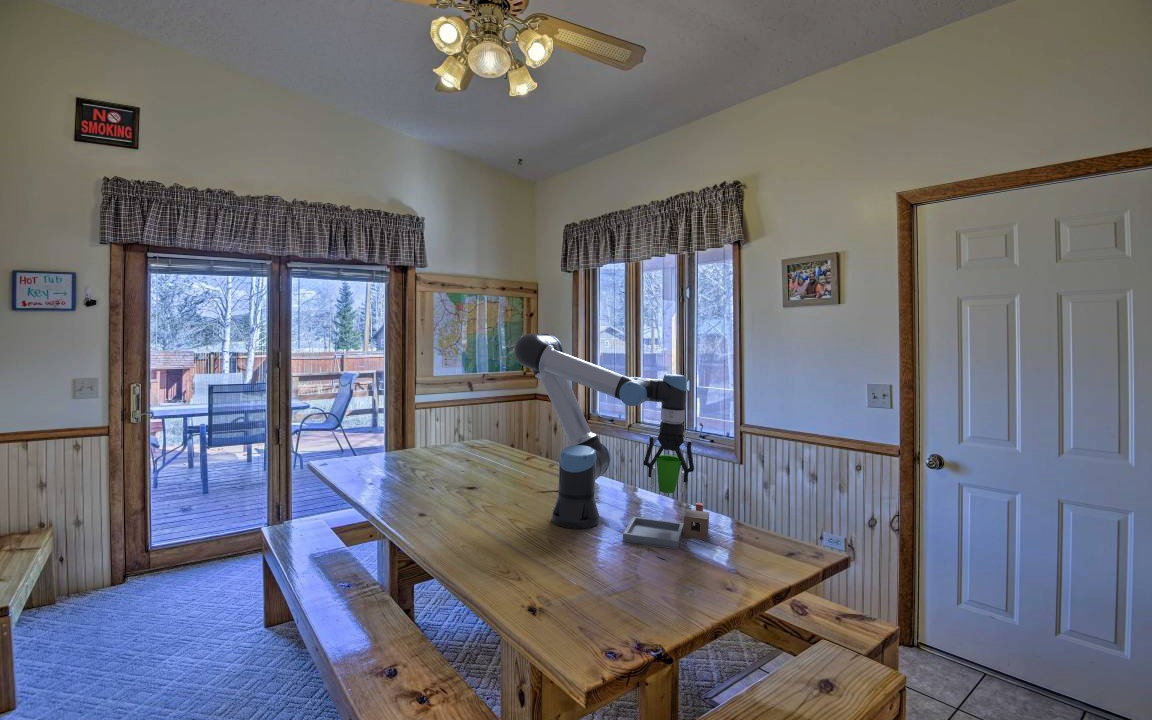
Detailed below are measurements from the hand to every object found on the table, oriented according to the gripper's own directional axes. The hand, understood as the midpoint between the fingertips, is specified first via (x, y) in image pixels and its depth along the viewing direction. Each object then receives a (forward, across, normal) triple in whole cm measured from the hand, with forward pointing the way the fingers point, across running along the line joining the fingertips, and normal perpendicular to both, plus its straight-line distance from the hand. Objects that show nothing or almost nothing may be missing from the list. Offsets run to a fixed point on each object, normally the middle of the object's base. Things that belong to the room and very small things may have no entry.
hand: (666, 489), depth 178 cm
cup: (+1, 0, 0) cm, 1 cm away
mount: (+10, +11, -9) cm, 17 cm away
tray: (+10, -1, -15) cm, 18 cm away
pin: (+9, +11, -2) cm, 14 cm away
